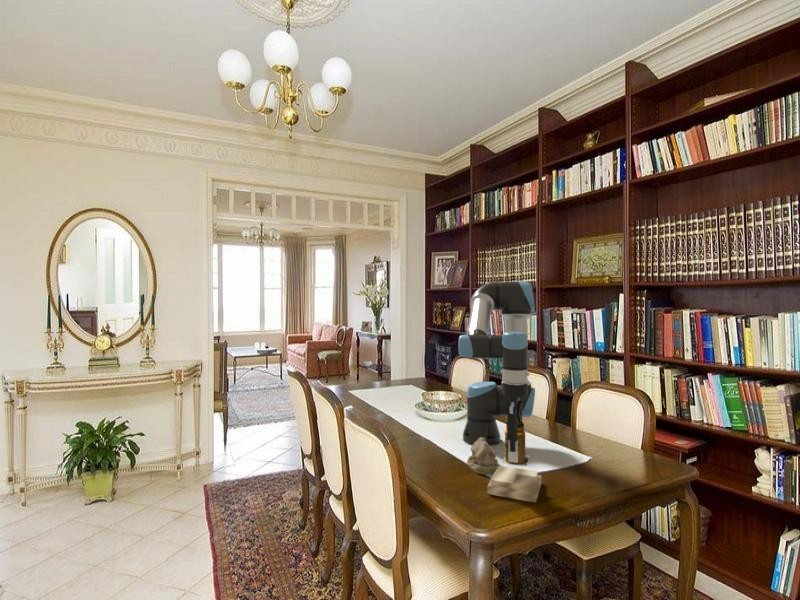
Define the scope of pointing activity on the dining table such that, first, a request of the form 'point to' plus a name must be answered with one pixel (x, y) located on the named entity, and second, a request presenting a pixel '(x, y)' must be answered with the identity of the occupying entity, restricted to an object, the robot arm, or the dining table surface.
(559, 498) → the dining table surface
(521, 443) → the condiment
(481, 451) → the ceramic model
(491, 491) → the plinth
